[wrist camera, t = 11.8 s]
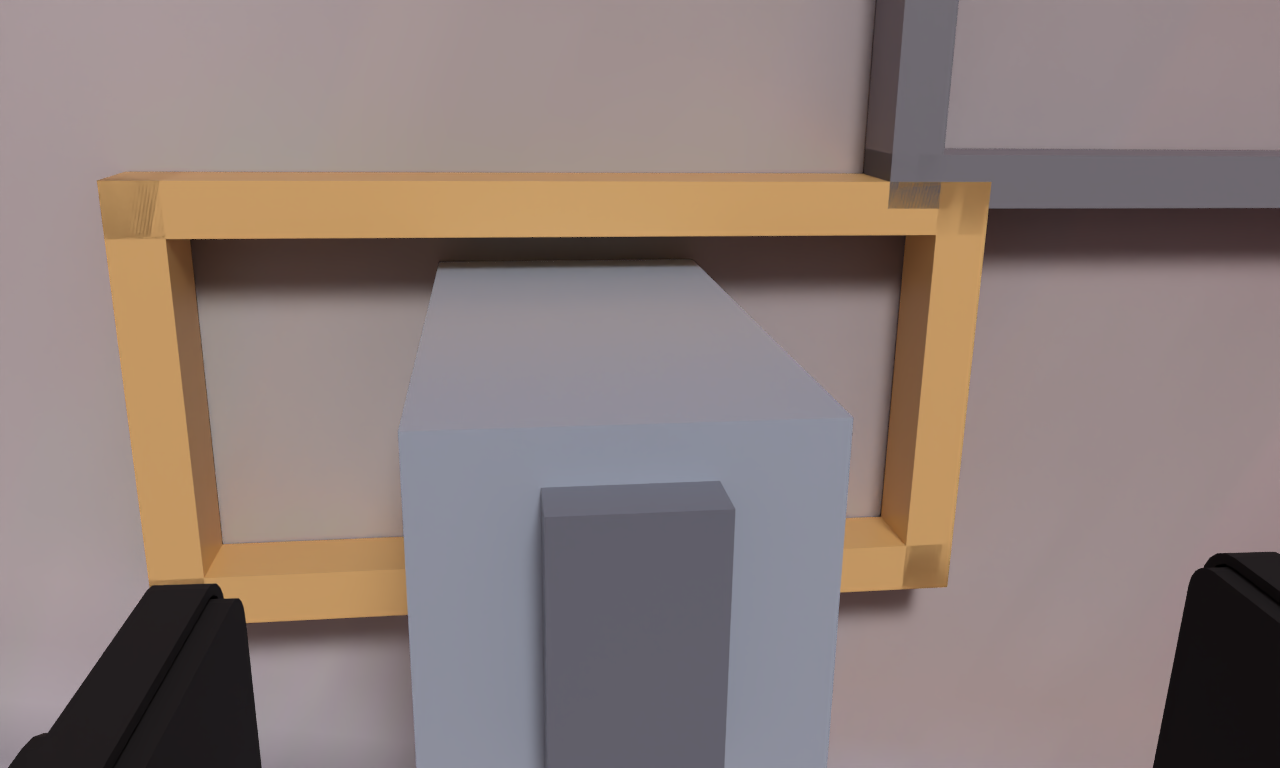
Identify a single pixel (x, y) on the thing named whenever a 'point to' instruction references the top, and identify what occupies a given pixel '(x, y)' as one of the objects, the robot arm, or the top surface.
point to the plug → (617, 524)
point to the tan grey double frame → (622, 207)
